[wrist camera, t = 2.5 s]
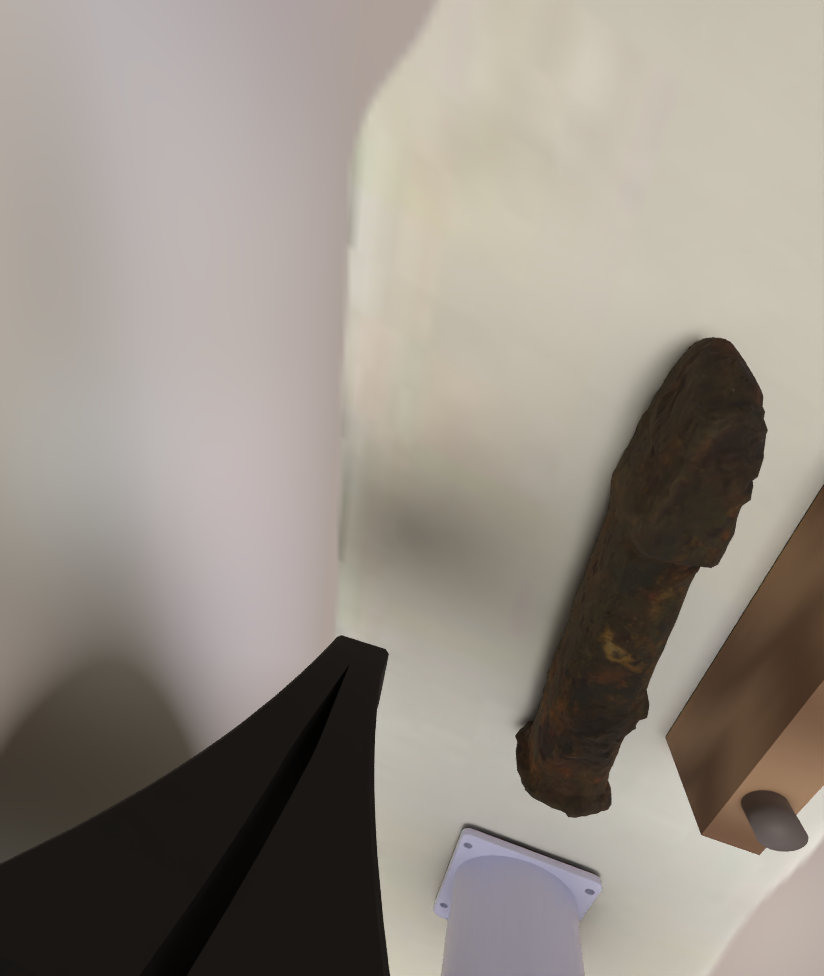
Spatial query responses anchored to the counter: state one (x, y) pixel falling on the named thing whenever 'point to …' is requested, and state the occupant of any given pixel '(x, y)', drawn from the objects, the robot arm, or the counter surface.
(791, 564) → the stop rail
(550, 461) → the counter surface
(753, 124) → the counter surface
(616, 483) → the hand tool
